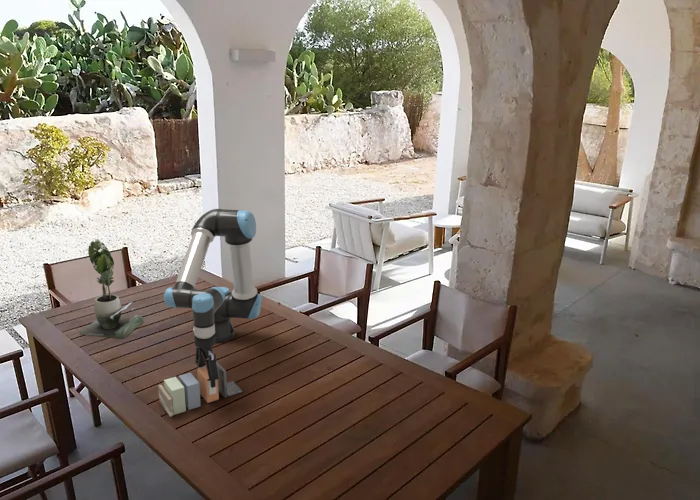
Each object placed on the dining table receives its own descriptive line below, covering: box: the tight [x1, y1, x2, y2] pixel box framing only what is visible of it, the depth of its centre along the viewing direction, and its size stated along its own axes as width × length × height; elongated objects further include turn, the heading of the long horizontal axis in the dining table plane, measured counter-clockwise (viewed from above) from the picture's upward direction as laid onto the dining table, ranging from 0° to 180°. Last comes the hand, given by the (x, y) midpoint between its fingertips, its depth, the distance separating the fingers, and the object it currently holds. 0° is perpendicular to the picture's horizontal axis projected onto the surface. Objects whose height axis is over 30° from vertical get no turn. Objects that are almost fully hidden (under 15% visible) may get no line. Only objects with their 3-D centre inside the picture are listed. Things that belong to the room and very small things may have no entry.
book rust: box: [196, 366, 220, 404], centre depth 219 cm, size 4×9×10 cm, turn 35°
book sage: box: [163, 376, 187, 416], centre depth 212 cm, size 4×9×10 cm, turn 36°
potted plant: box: [79, 238, 144, 339], centre depth 269 cm, size 22×19×45 cm
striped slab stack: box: [157, 384, 174, 417], centre depth 216 cm, size 18×12×7 cm, turn 126°
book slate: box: [178, 372, 202, 411], centre depth 215 cm, size 4×9×10 cm, turn 36°
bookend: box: [216, 360, 244, 399], centre depth 224 cm, size 8×9×11 cm
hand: (207, 387), depth 220 cm, fingers open, 9 cm apart
